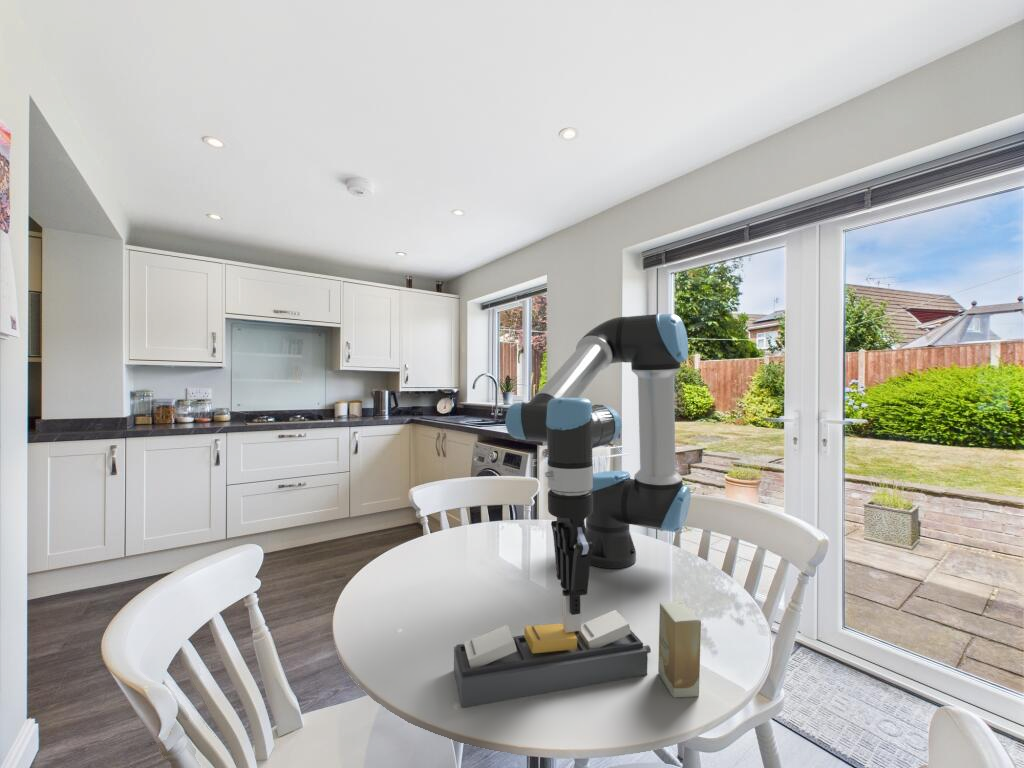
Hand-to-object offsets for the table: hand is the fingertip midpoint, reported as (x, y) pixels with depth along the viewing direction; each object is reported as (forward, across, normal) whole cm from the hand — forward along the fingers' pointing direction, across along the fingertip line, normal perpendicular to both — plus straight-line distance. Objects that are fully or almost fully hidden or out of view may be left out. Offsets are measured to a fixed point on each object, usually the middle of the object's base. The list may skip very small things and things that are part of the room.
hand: (572, 628), depth 78 cm
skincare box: (+7, +8, +15) cm, 18 cm away
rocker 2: (+2, 0, +6) cm, 6 cm away
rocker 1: (+2, 0, -14) cm, 14 cm away
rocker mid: (+2, 0, -4) cm, 4 cm away
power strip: (+7, 0, -2) cm, 7 cm away
